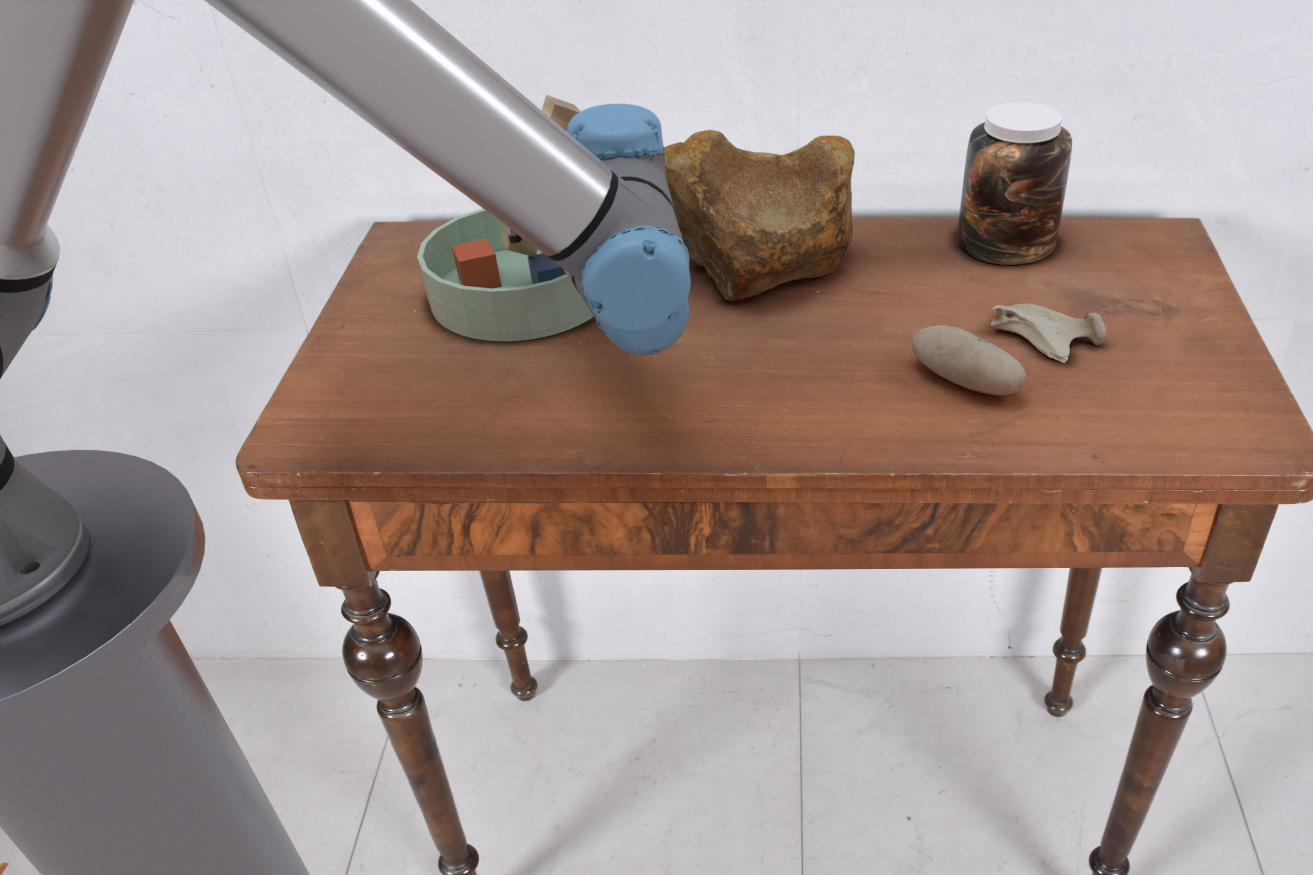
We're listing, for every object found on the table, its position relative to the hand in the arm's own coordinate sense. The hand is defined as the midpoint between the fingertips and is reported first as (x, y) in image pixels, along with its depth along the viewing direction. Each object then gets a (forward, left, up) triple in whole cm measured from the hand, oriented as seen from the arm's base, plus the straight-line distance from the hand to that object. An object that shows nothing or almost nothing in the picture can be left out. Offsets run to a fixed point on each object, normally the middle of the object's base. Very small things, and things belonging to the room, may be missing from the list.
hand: (529, 156), depth 116 cm
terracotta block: (-8, -2, -12) cm, 15 cm away
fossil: (+43, -38, -13) cm, 59 cm away
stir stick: (-4, -5, -8) cm, 10 cm away
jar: (+51, -18, -13) cm, 56 cm away
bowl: (-4, -5, -13) cm, 15 cm away
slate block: (-1, -8, -12) cm, 15 cm away
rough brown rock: (+21, -13, -13) cm, 28 cm away
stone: (+31, -41, -13) cm, 53 cm away
